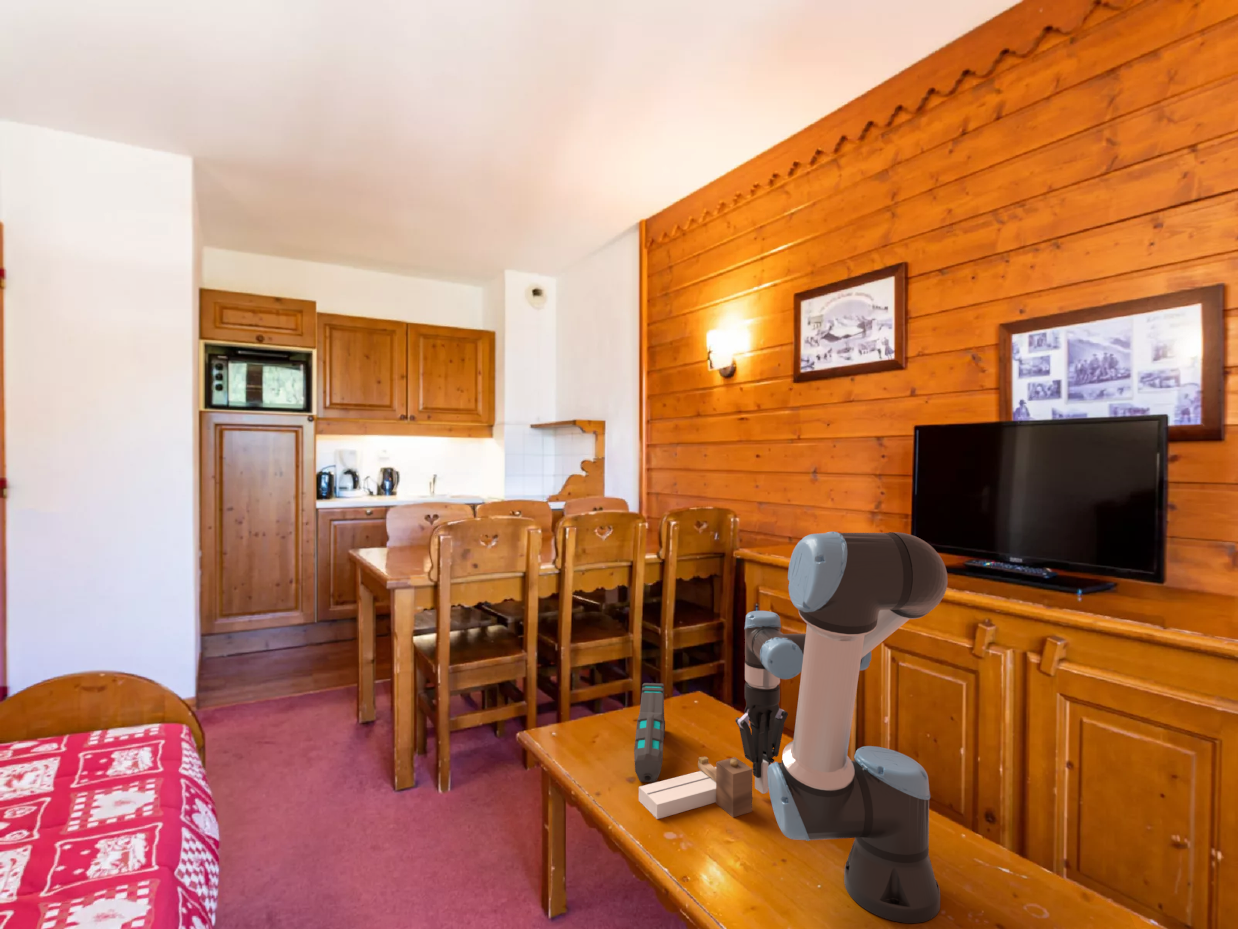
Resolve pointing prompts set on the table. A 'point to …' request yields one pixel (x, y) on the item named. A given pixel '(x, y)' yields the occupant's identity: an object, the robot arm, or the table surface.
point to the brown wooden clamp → (730, 784)
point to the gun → (650, 733)
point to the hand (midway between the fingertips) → (761, 790)
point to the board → (678, 794)
